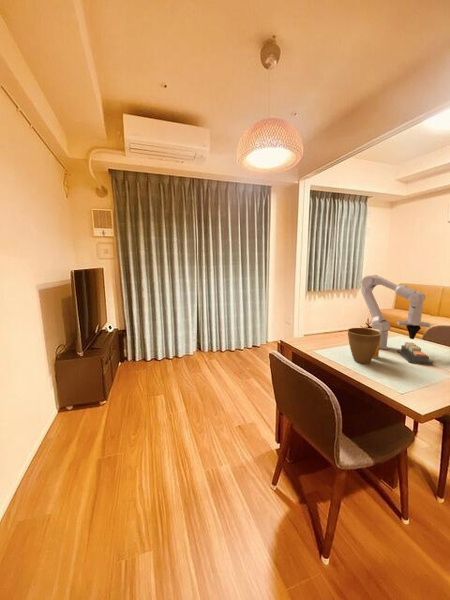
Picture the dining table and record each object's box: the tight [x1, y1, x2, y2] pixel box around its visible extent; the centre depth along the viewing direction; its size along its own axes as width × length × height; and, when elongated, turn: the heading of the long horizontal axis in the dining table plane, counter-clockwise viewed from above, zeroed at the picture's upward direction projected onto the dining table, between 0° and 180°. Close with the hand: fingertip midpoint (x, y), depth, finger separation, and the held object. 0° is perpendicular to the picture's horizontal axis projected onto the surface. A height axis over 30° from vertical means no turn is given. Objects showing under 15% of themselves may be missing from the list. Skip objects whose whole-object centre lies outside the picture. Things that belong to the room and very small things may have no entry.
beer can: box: [371, 328, 381, 359], centre depth 132 cm, size 6×6×15 cm
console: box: [396, 344, 434, 366], centre depth 131 cm, size 10×16×4 cm, turn 164°
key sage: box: [408, 345, 422, 352], centre depth 130 cm, size 4×4×3 cm
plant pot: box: [347, 327, 381, 365], centre depth 126 cm, size 15×15×16 cm
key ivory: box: [404, 342, 418, 349], centre depth 135 cm, size 4×4×3 cm
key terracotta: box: [413, 351, 427, 357], centre depth 125 cm, size 4×4×3 cm
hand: (411, 338), depth 134 cm, fingers closed
